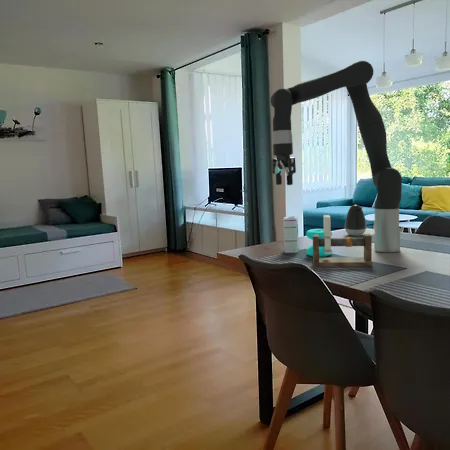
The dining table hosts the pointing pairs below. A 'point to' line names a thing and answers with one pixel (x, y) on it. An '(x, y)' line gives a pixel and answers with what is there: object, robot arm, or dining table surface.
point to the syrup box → (291, 234)
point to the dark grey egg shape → (355, 221)
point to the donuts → (310, 236)
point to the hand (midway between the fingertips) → (284, 184)
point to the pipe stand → (343, 260)
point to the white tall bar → (327, 234)
